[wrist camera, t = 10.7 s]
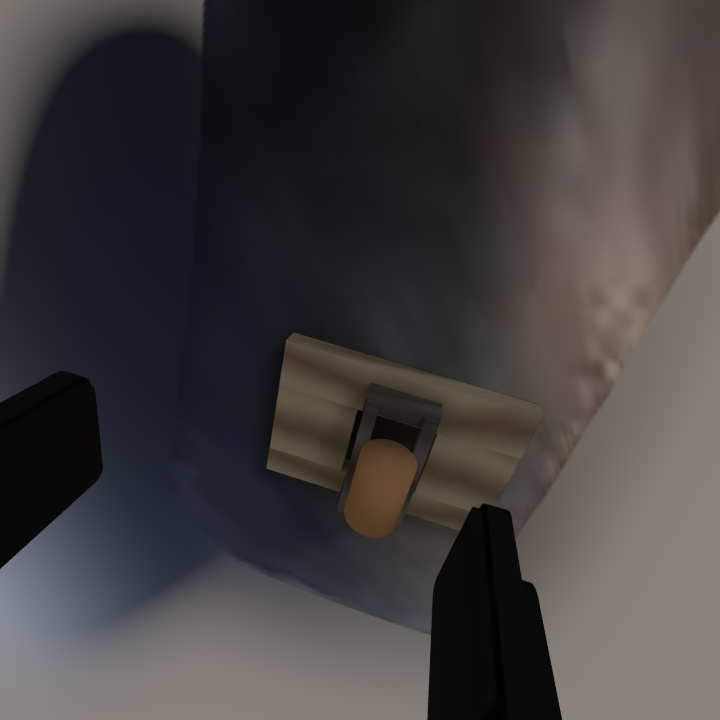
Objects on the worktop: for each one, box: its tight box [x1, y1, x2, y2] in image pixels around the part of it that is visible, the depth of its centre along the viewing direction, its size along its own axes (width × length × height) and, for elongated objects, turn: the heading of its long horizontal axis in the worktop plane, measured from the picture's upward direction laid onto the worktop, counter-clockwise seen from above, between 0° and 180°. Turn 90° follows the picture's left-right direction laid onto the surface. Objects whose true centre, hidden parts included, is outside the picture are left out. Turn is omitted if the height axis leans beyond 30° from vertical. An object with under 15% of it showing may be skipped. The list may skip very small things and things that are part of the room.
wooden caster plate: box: [267, 333, 543, 531], centre depth 40 cm, size 16×24×6 cm, turn 77°
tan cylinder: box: [344, 439, 417, 538], centre depth 37 cm, size 7×5×5 cm
